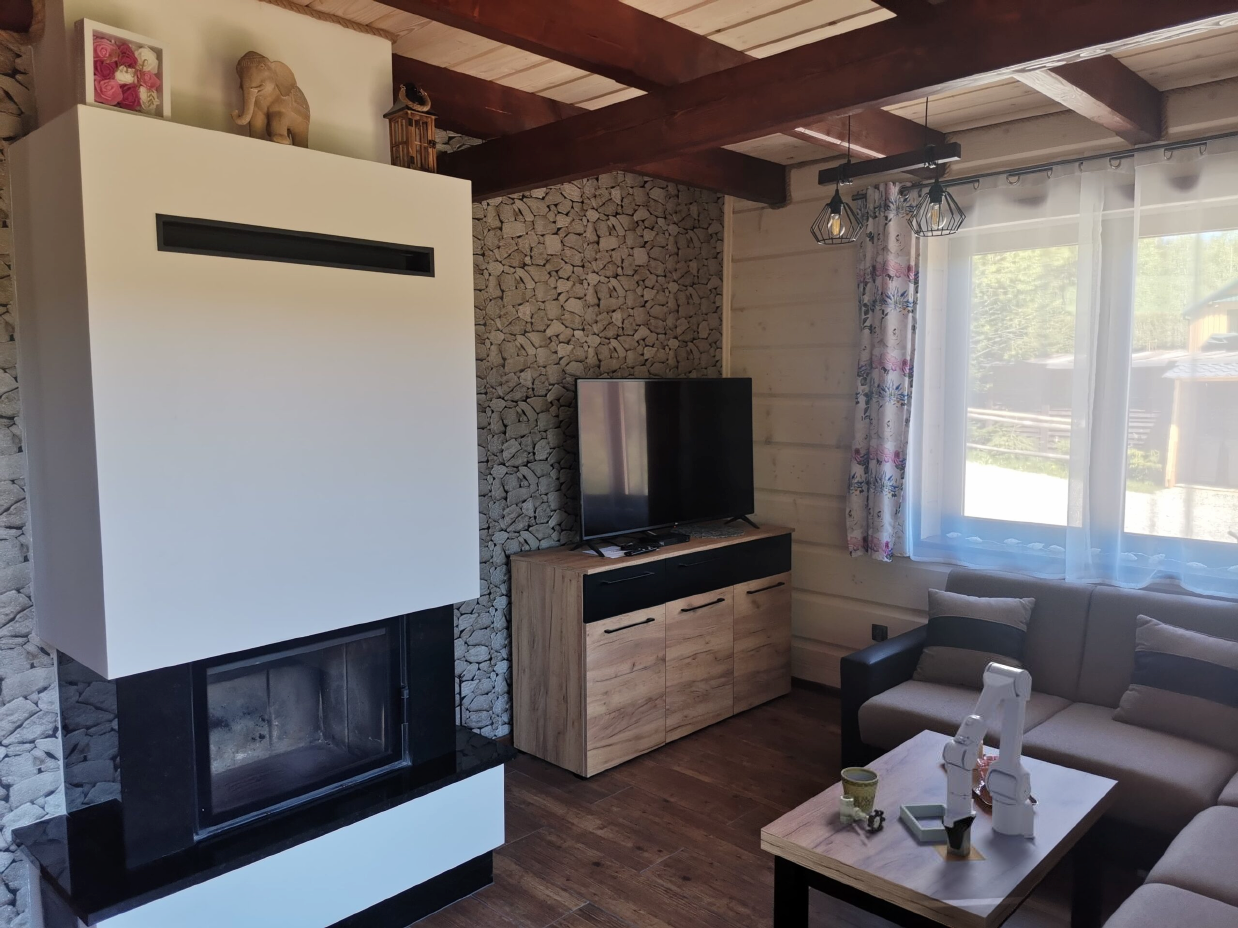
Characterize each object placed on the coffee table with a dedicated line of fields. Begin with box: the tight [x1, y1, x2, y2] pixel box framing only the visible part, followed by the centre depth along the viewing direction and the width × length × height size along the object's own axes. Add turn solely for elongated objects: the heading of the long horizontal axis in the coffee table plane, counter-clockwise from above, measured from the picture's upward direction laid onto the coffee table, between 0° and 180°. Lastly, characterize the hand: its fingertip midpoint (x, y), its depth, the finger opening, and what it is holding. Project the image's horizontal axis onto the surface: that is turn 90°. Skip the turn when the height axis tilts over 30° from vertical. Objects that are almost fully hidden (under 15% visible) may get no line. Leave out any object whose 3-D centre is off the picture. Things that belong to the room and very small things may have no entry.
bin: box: [899, 802, 947, 842], centre depth 228 cm, size 12×14×4 cm
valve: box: [838, 794, 886, 835], centre depth 231 cm, size 7×7×12 cm
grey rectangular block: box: [946, 825, 972, 858], centre depth 215 cm, size 4×4×6 cm
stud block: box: [932, 842, 987, 862], centre depth 215 cm, size 10×8×4 cm
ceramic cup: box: [840, 766, 879, 815], centre depth 241 cm, size 13×10×10 cm
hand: (958, 844), depth 215 cm, fingers closed on grey rectangular block, 4 cm apart
